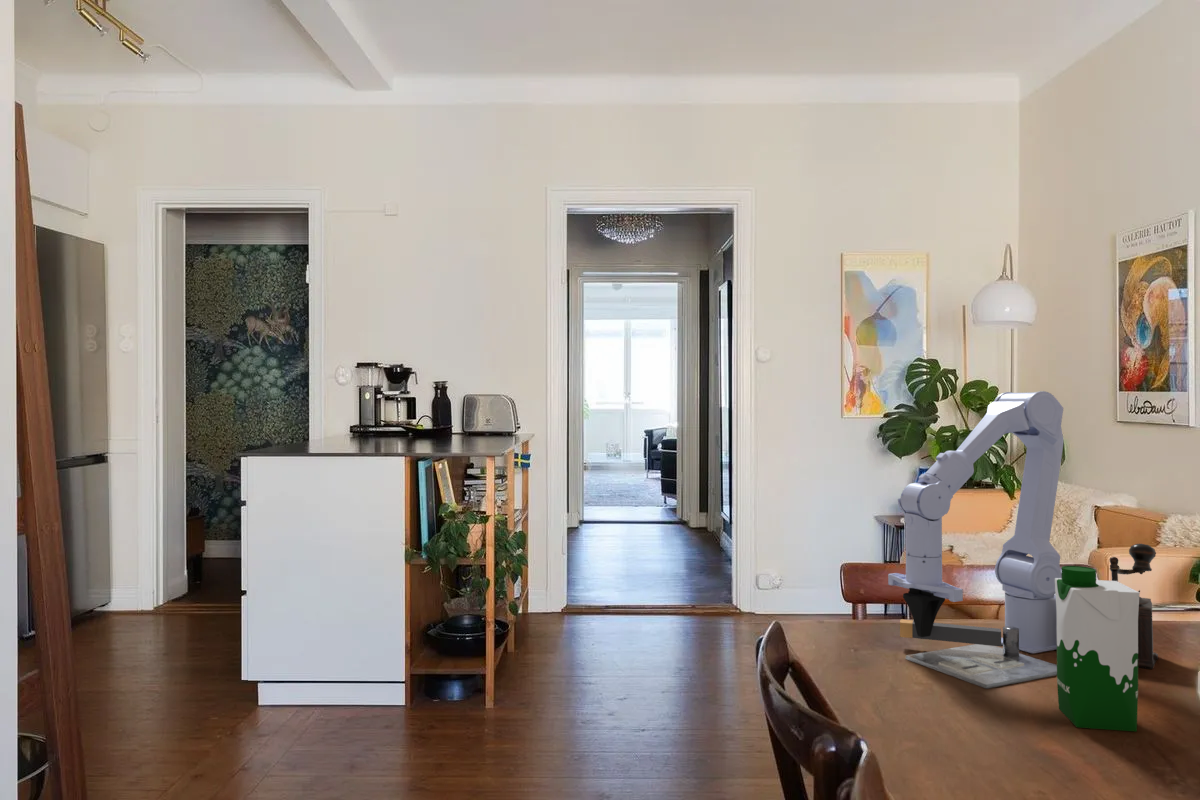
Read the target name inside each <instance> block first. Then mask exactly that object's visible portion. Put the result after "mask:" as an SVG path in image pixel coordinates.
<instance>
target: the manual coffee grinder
mask: <svg viewBox="0 0 1200 800" xmlns="http://www.w3.org/2000/svg"><path fill="white" fill-rule="evenodd" d="M1128 554H1129V556H1130V557H1131V558H1132V559H1133V561H1134V563H1133V566H1132V567H1131V569H1130V568H1129V569H1123V568H1120V566H1119V559H1118V557H1116V556H1112V557H1110V558H1109V563H1110V564H1109V571H1110V572H1111V581H1118V582H1119V575H1132V574H1140V575H1143V573H1146V572H1152V570H1153V569H1152V568H1151V562H1152V561H1153V559H1155V557H1156V554H1157V551H1156V550H1155V548H1154V547H1152V546H1151V545H1149V544H1145V543H1135V544H1133V545H1131V546H1130V548H1129V549H1128ZM1137 592H1139V593H1141V590H1140V589H1139V590H1137ZM1153 629H1154V627H1153V602H1152V598H1150V597H1149V598H1148V597H1141V596H1140V595H1139V611H1138V669H1148V670H1153V669H1154V668H1155V664H1156V662H1157V661H1158V660H1159V654H1158V653H1157V652H1154V630H1153Z"/></svg>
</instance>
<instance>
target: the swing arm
mask: <svg viewBox="0 0 1200 800" xmlns="http://www.w3.org/2000/svg"><path fill="white" fill-rule="evenodd" d="M899 637H900V638H904V639H905V638H906V639H920V640H928V641H929V640H931V641H941V642H942V641H943V642H949V643H950V642H951V643H962V644H969V645H974V644H980V645H990V646H997V647H1000V648H1002V644H1001V638H1002V630H1001V628H999V627H998V628H996V627H988V626H987V627H985V626H974V625H964V624H963V625H962V624H953V623H943V622H942V623H940V622H934V624H933V627H932V631H931V635H930V636H927V637H920V636H918V634H917V631H916V627H915V623H914V620H913V619H903V618H902V619H900V621H899Z"/></svg>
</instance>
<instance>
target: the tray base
mask: <svg viewBox="0 0 1200 800" xmlns="http://www.w3.org/2000/svg"><path fill="white" fill-rule="evenodd" d="M1002 638H1003V645H1002V647H1000V646H990V645H980V644H969V645H963V646H957V647H951V648H944V649H943V648H942V649H938V650H937V649H936V650H932V651H931V650H930V651H924V652H918V653H912V654H907V655H905V660H907V661H910V662H913V663H915V664H918V665H921V666H924V667H925V668H926V667H927V668H929V669H931V670H934V671H936V672H939V673H943V674H945V675H948V676H951V677H954V678H956V679H959V680H962V681H965V682H966V683H970V684H972V685H975V686H978V687H980V688H984V689H991V688H992V689H993V688H997V687H1003V686H1007V685H1012V684H1017V683H1023V682H1029V681H1032V680H1039V679H1045V678H1050V677H1055V676H1057V664H1055V663H1051V662H1049V661H1046V660H1042V659H1038V658H1035V657H1033V656H1029V655H1025V654H1022V653H1020V650H1019V628H1016V627H1011V626H1005V625H1004V626H1003V627H1002Z"/></svg>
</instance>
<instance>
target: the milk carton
mask: <svg viewBox="0 0 1200 800" xmlns="http://www.w3.org/2000/svg"><path fill="white" fill-rule="evenodd" d="M1061 574H1062V577H1061V578H1055V596H1056V610H1057V649H1056V665H1057V675H1056V684H1057V685H1056V687H1057V699H1058V700H1057V701H1058V709H1059V711H1061V713H1062V714H1063V715H1064V716H1065V717H1066V718H1068V720H1069V721H1070V722H1071V724H1073V725H1074V726H1075V727H1076V728H1079V729H1081V728H1082V729H1092V730H1093V729H1095V730H1108V731H1109V730H1111V731H1122V732H1125V731H1126V732H1136V733H1137V731H1138V706H1139V705H1138V704H1139V701H1138V700H1139V668H1138V611H1139V596H1140V594H1141V592H1138V590H1135V589H1133V588H1131V587H1130V586H1128V585H1126V584H1124V583H1121V581H1120V582H1119V580H1118V581H1112V580H1105V579H1104V580H1103V579H1102V580H1101V579H1097V569H1095V568H1093V567H1088V566H1082V565H1064V566H1062V567H1061Z"/></svg>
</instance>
